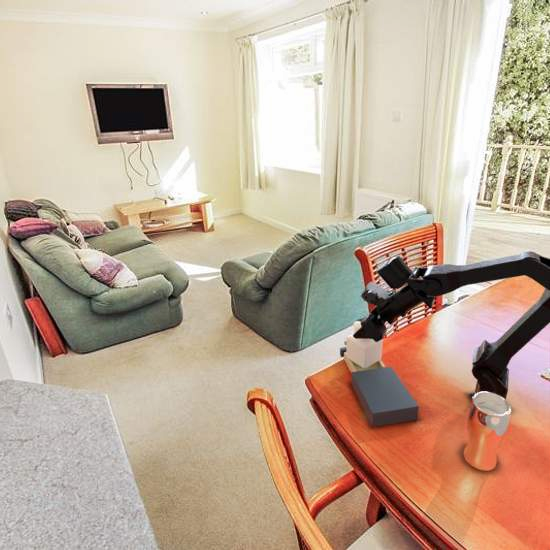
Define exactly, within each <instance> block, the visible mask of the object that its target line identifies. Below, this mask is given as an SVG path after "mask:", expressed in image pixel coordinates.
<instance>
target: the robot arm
mask: <svg viewBox="0 0 550 550" xmlns="http://www.w3.org/2000/svg"><path fill="white" fill-rule="evenodd" d="M375 272H376V274H377V275H378V276H379V277H380V278H381V279H382V280H383V281H384V282H385V283H386V285H387V286H388V287H389V288H390V289H392V291H391V290H388V289H385V288H384V287H382V286H381V285H379V284H377V283H376V282H374V281H370V282H368V283H367V284H366V286H365V288H364V290H363V291H362V293H361V295H360V297H361V299H363V301H365V302H366V303H368V304H369V305H374V307H373V308H372V310H370V312H369V313H368V314H366V315H365V317H363V320H362V321H361V326H362V327H361V328H360V329H358V330H357V331H356V332H355V333H354V332H353V333H352V334H353V337H354V338H355V339H373V340H374V341H375V342H378V341H380V340H382V339H383V340H384V338H385V336H386V334H387V330H388V328H387V326H386V325H385V324H386V323H388V324H389V325H390V326H391V325H393V324H394V323H395V321H396V320H397V319H399V318H400V317H401V318H405V317H407V315H408V313H409V312H410V311H412V310H414V309H415V308H417V307H419V306H420V305H423V303H424V305H426V307H427V308H428V309H432V308H433V306H434V304H435V298H437V297H441V296H445V295H447V294H450V293H453V292H455V291H456V290H458V289H460V288H463V287H466V286H470V285H476V284H483V283H487V282H493V281H500V280H506V279H511V278H519V277H522V276H523V277H524V276H526V277H527V278H529V279H532V280H533V281H534V282H536V283H537V284H539V285H540V286H541V287H543V288H544V290H543V292H542V293H541V296H540V298H539V299H538V300H537V301H536V302H535V303H534V304H533V305H532V306H531V307H530V308H529V309H528V310H526V312H525V313H524V314H523V315H522V316H521V317H520V318H518V319H517V321H516V322H515V323H514V324H512V325H511V326H510V327H509V328H508V329H507V330H506V331H505V332H504V333H503V334H502V335H501V336H500V337H499V338H498V339H497V340H496V341H493V342H489V341H487V340H486V339H484V340H483V341H482V343H481V344H480V345H479V346H478V347H476V348H475V349H474V352H473V357H472V361H471V362H472V363H471V364H472V367H471V374H472V376H473V377H474V379H475V380H476V384H475V389H474V392H471V393H469V397H470V399H471V401H472V400H473V396H474V395H475V394H476V393H479V392H491V393H495V394H497V395H500V396H501V397H503V398H504V399H506V400H507V396H508V392H509V379H510V378H509V374H510V370H509V368H508V366H509V363H510V361H511V359H513V357H514V356H515V355H516V354H518V352H520V351H521V350H522V349H523V348H524V347H525V346H526V345H528V344H529V343H530V342H531V341H532V340H533V339H534V338H535V337H536V336H537V335H539V333H540V332H542V331H543V330H544V329H545V328H546V327H547V326H548V325H549V324H550V257H546V256H542V255H540V254H538V253H536V252H535V251H532V250H530V251H529V250H528V251H523V252H521V253H518V254H512V255H508V256H503V257H498V258H493V259H489V260H483V261H478V262H473V263H468V264H460V265H459V264H452V263H451V264H450V263H446V264H434V265H431V266H429V267H413V268H411V267H410V266H409V265H408V264H407V263H406V262H405V261H404V259H403V258H402V257H401V255H400V254H397V255H396V256H394V257H391V258H388V259H387V260H386V261H384V263H383V264H381V265H380V266H379V267H378V268H377V269H376V270H375Z"/></svg>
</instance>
